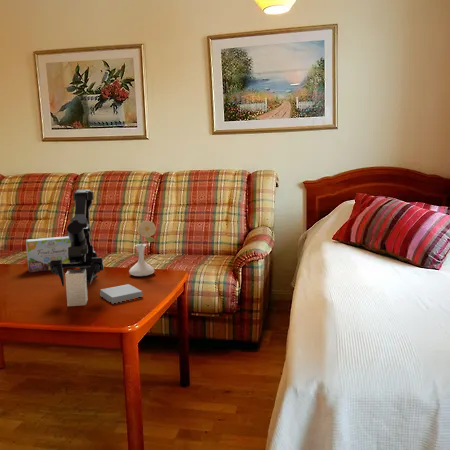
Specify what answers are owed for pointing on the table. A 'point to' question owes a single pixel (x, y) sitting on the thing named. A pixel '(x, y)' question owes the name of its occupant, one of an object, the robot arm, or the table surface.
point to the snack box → (46, 252)
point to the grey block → (120, 293)
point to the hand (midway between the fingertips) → (76, 285)
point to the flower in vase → (141, 266)
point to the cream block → (76, 287)
